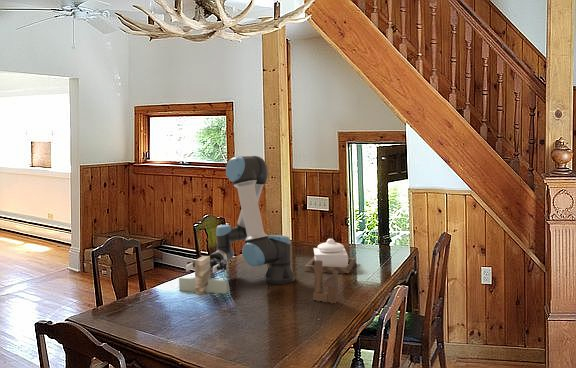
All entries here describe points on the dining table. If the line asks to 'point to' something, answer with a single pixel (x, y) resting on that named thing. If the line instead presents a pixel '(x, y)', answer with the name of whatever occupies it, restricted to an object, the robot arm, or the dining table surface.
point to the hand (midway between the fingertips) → (199, 269)
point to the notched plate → (202, 273)
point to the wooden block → (325, 285)
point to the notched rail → (212, 286)
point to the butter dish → (331, 254)
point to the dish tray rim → (347, 269)
